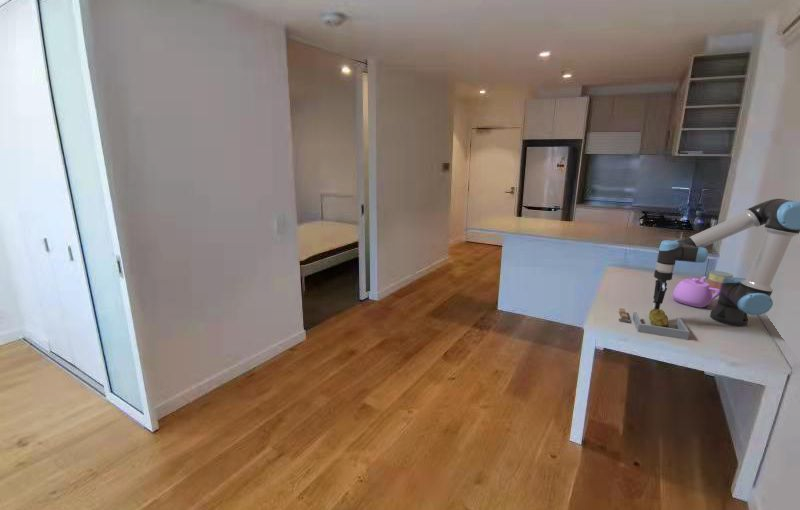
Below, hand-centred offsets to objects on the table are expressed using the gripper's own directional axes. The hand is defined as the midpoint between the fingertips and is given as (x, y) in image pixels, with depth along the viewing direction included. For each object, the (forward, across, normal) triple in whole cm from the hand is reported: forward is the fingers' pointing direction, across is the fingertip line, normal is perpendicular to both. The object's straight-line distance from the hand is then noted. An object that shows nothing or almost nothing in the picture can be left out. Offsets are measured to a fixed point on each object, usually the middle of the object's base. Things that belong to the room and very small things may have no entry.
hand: (654, 313), depth 195 cm
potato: (+4, +8, 0) cm, 9 cm away
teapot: (+4, -38, +25) cm, 45 cm away
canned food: (+4, -68, +46) cm, 82 cm away
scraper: (+4, +3, -14) cm, 15 cm away
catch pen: (+4, +11, 0) cm, 11 cm away
